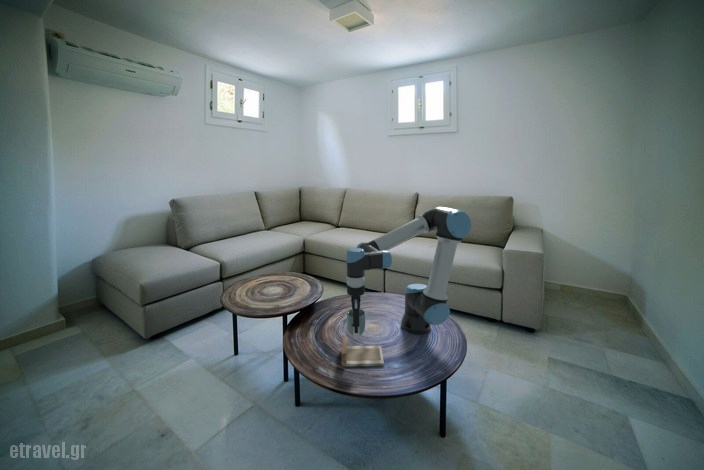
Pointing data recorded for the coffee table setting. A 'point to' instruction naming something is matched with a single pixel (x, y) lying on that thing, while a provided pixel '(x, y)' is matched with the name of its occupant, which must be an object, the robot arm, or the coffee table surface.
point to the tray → (361, 355)
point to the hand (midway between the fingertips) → (356, 333)
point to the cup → (361, 321)
